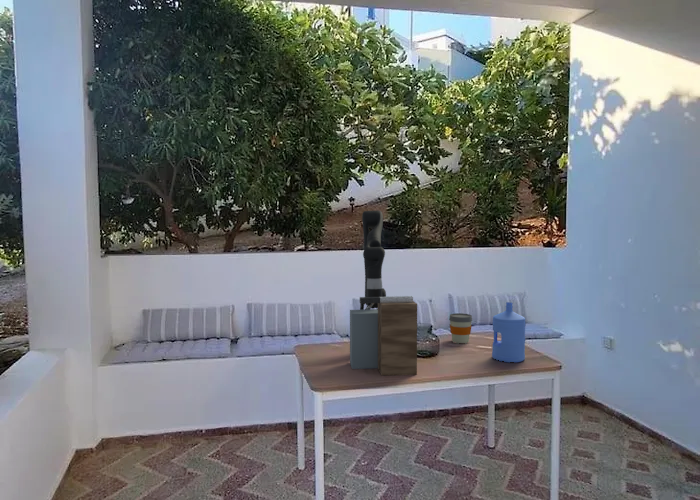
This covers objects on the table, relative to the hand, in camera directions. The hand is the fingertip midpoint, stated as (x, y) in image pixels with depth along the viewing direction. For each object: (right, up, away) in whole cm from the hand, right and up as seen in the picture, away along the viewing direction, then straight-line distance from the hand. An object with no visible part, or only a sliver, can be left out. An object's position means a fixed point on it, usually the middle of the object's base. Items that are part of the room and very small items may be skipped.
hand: (374, 320), depth 258 cm
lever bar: (+4, +11, -20) cm, 24 cm away
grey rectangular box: (-2, -20, -8) cm, 22 cm away
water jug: (+66, -20, +3) cm, 69 cm away
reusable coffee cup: (+50, -17, +37) cm, 65 cm away
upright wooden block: (+9, -21, -18) cm, 29 cm away
